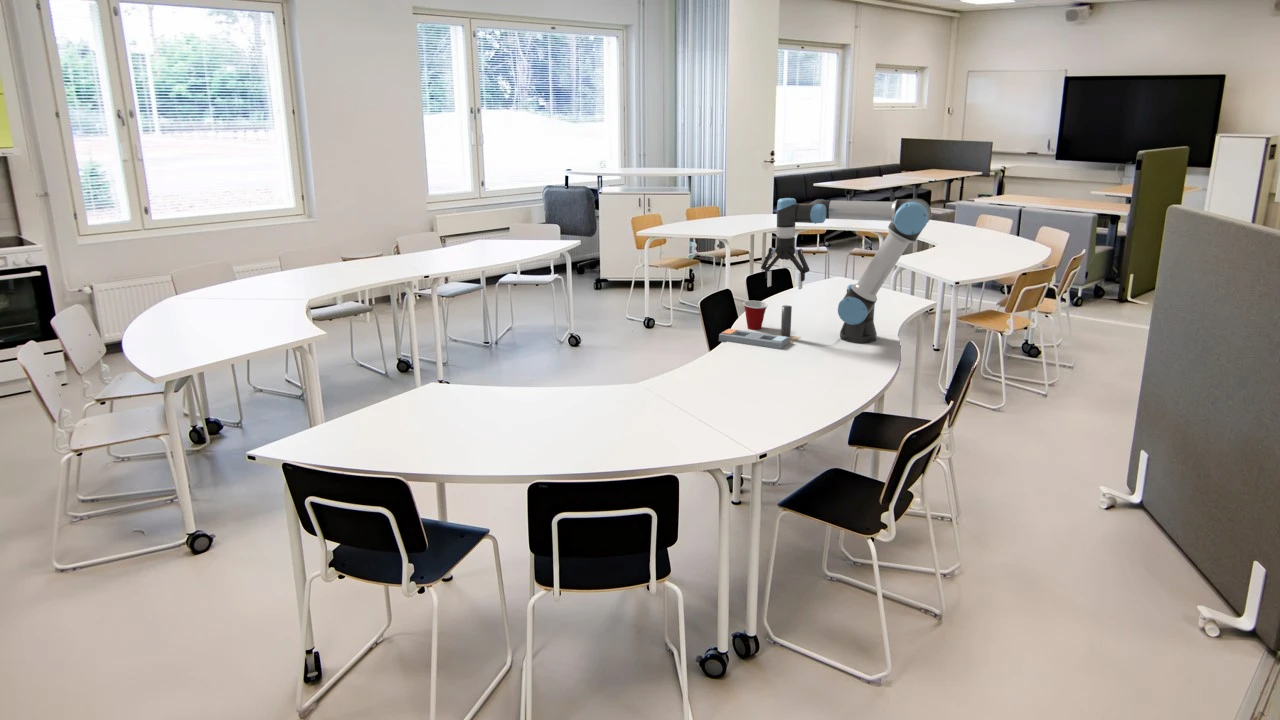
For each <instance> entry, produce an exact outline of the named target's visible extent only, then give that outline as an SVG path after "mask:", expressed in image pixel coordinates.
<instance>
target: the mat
mask: <svg viewBox="0 0 1280 720" xmlns="http://www.w3.org/2000/svg"><path fill="white" fill-rule="evenodd" d="M776 335H777V336H781V333H779V334H776ZM800 339H801V336H796V335H795V336H794V335H790V343H789V344H794V343H795V342H797V341H798V340H800Z"/></svg>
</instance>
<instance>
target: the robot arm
mask: <svg viewBox="0 0 1280 720" xmlns="http://www.w3.org/2000/svg"><path fill="white" fill-rule="evenodd" d="M931 217H932V210H931V206H930V205H929V203H928V202H927V201H925V200H924V199H922V198H917V197H916V198H906V199H905V198H903V199H902V198H900V199H899V198H898V199H895V200H894V201H874V200H873V201H872V200H871V201H869V200H868V201H867V200H834V199H833V200H825V199H823V198H820V199H819V198H817V199H815V200H814V201H811V202H810V203H797V200H796V199H795V198H793V197H792V198H791V197H784V198H779V199H778V200H777V205H776V235H775V236H777V237H776V247H775V248H774V247H773V246H772V247H769V248H768V252H767V255H766V257H765V259H764V261H763V262H762V265H761V267H760V269H761V270H763V271H765V274H764V277H765V279H767V280H766V283H767V288H769V287H771V286H772V270H771V268H773V266H774V265H775V264H776V263H777V261H779V260H787V261H789V260H790V261H791V263H793V265H794V266H795V267H796V269H797V270H798V271H799V273H798V287H797V288H798V289H797V290H801V289H803V282H804V281H805V280H806V273H808V272H810V267H809V265H808V263H807V260H806V259H805V256H804V254H803V249H802V248H799V249H796V248H795V247H796V238H795V236H796V223H799V224H800V223H801V224H802V223H803V224H804V223H805V224H806V223H807V224H823V223H824V222H825V221H826V220H852V221H853V220H854V221H878V222H890V223H889V224H888V226H887V228H888V234H887V235H886V236H885V238H884V239H883V241H882V244H881V245H880V246H879V248H878V249H877V251H876V252H875V254H874V256H873V258H872V259H871V260H870V262H869V264H868V265H867V267H866V269H865V270H864V272H863V273H862V275H861V277H860V278H859V280H858V281H857V283H854V284H853V283H852V284H848V285H847V288H846V293H845V295H844V297H843V298H842V299H841V300H840V301H839V303H838V306H837V314H838V317H839V319H841V320H842V322H843V324H842V326H841V329H840V331H839V338H840V339H841V340H842V341H846V342H849V343H856V344H857V343H858V344H864V343H872V342H873V343H874V342H875V341H876V340H877V337H878V336H877V335H878V334H877V330H876V326H875V320H874V318H875V306H876V303H877V301H878V298H877V297H878V296H877V295H878V294H877V293H878V292H879V291H880V289H881V288H882V286H883V284H884V283H885V281H886V280H887V278H888V276H889V275H890V274H891V272H892V271H893V268H894V267H895V266H896V264H897V262H898V261H899V259H900V258H901V257H902V256H903V255H902V254H903V253H904V251H905V250H906V249H907V247H908V246H909V244H913V243H915V242H916V240H917V239H918V237H919V236H920V234H921V233H922V231H923V229H925V227H926V226H927V224H928V223H929V222H930V219H931ZM774 253H776V256H775V257H774V258H773V259H772V260H771V258H772V255H773V254H774ZM795 254H796V255H797V256H798V259H799V260H798V259H797V257H796V256H795ZM770 260H771V261H770ZM799 261H800V262H799ZM769 262H770V263H769Z"/></svg>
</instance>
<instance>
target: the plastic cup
mask: <svg viewBox="0 0 1280 720" xmlns="http://www.w3.org/2000/svg"><path fill="white" fill-rule="evenodd" d="M742 303H743V306H744V307H743V308H744V311H745V318H746V326H747V329H748V330H752V331H753V330H754V331H758V330H761V329H762V325H763V321H764V317H765V313H766V310H767V308H768V306H769V304H768V303H766V302H764V301H761V300H746V301H742Z"/></svg>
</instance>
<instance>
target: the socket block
mask: <svg viewBox="0 0 1280 720" xmlns="http://www.w3.org/2000/svg"><path fill="white" fill-rule="evenodd" d="M777 335H778V334H770V333H762V332H754V331H749V330H741V329H736V328H735V329H734V328H728V329H725V330H724V331H722V332H721V333H719V334H718V342H722V343H727V342H730V343H737V344H743V345H750V346H755V347H756V346H757V347H762V348H768V349H777V350H782V349H784V348H785V347H787V346H788V345H789V344H791V343H790V337H785V336H777Z"/></svg>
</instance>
